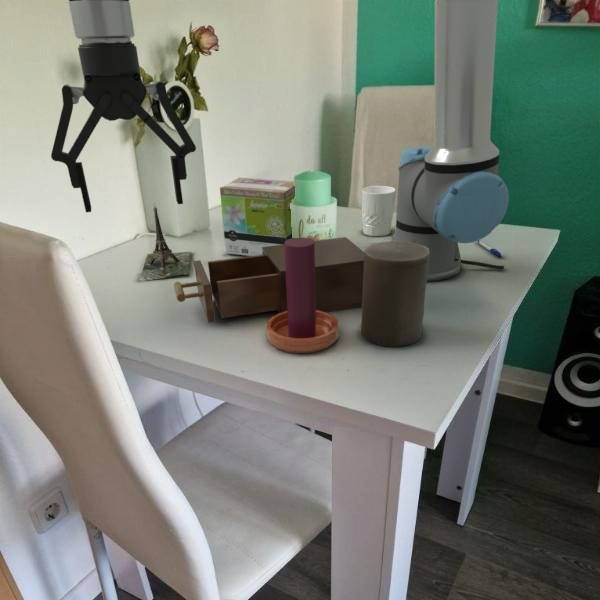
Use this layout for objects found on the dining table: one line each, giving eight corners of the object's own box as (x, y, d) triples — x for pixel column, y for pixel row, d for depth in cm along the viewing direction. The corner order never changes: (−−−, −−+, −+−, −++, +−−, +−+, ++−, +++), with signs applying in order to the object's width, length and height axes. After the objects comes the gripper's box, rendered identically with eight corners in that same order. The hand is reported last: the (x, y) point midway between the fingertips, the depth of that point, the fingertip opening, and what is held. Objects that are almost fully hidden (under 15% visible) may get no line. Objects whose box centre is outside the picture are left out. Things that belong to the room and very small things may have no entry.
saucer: (325, 318, 95) (325, 304, 94) (348, 348, 86) (348, 333, 85) (260, 328, 93) (259, 314, 92) (277, 359, 84) (276, 345, 82)
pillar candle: (380, 352, 85) (386, 256, 76) (350, 327, 92) (352, 237, 84) (434, 339, 88) (445, 245, 80) (400, 316, 95) (407, 228, 87)
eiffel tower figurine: (189, 277, 114) (180, 210, 106) (139, 280, 113) (126, 213, 105) (191, 253, 126) (183, 192, 119) (146, 256, 125) (134, 195, 118)
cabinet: (282, 318, 96) (280, 271, 91) (264, 290, 107) (261, 247, 102) (371, 305, 100) (373, 259, 95) (345, 279, 110) (345, 236, 106)
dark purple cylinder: (311, 326, 91) (309, 235, 83) (319, 338, 88) (318, 244, 80) (285, 330, 90) (281, 239, 82) (292, 342, 87) (288, 248, 79)
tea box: (224, 255, 124) (217, 186, 116) (243, 242, 132) (238, 176, 124) (287, 261, 120) (284, 190, 112) (303, 247, 128) (301, 179, 119)
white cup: (395, 236, 132) (397, 193, 127) (361, 237, 132) (363, 194, 127) (390, 227, 139) (393, 185, 133) (359, 228, 139) (360, 186, 133)
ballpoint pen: (502, 257, 118) (503, 253, 117) (498, 258, 118) (499, 253, 117) (479, 242, 126) (480, 238, 126) (475, 243, 126) (476, 238, 126)
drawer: (182, 326, 92) (176, 288, 89) (175, 299, 102) (169, 264, 98) (296, 310, 97) (295, 273, 93) (278, 285, 106) (277, 250, 103)
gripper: (196, 39, 80) (211, 193, 91) (8, 43, 74) (50, 207, 86) (204, 39, 74) (219, 204, 85) (0, 43, 68) (46, 220, 80)
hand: (135, 206), depth 85 cm, fingers open, 13 cm apart
